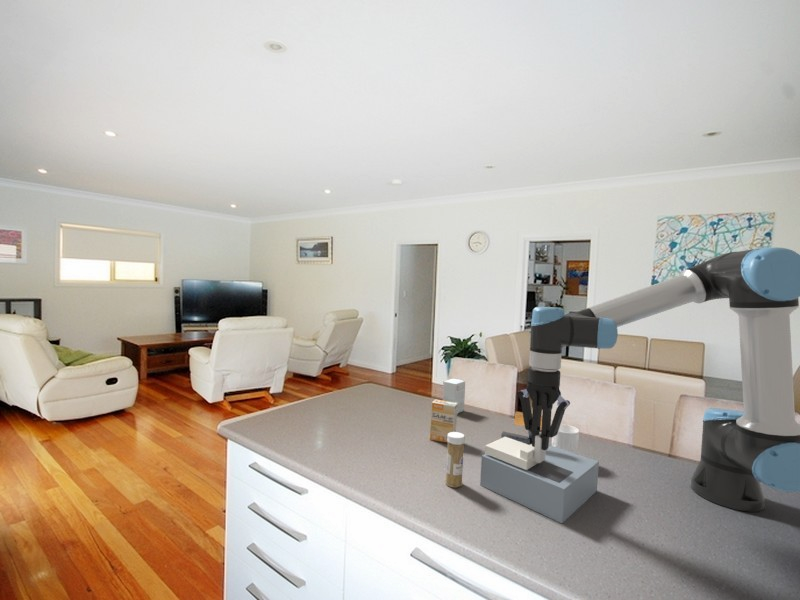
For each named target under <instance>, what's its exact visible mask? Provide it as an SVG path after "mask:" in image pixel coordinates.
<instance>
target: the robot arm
mask: <svg viewBox="0 0 800 600" xmlns="http://www.w3.org/2000/svg"><path fill="white" fill-rule="evenodd" d="M799 298H800V254H799V253H798V252H797V251H794V250H793V249H790V248H786V247H765V246H764V247H760V248H755V249H747V250H746V249H745V250H739V251H731V252H727V253H726V252H725V253H723V254H721V255H717V256H715V257H713V258H711V259H708V260H706V261H703V262H701V263H698V264H696V265H693V266H691V267H688V268H686V269H685V268H684V269H683V270H681V271H680V273H679V275H677V276H675V277H672V278H669V279H666V280H663V281H660V282H658V283H655V284H651V285H650V286H646V287H643V288H641V289H638V290H634V291H632V292H630V293H626V294H624V295H621V296H618V297H615V298H613V299H609V300H606V301H604V302H602V303H598V304H595V305H593V306H590V307H587V308H584V309H581V310H578V311H576V312H567V313H565V310H564V308H562V307H556V306H555V307H551V306H536V307H534V308H533V309H532V315H531V323H530V340H529V343H530V345H529V358H528V359H529V360H528V365H529V368H528V374H527V380H528V381H527V383H528V384H527V386H526V388H525V389H521V390H519V391H517V396H518V398H519V400H520V405H521V412H523V418H524V424H525V426H524V429H525V430H526V431H528V430H529V431H530V432H531V433H532V446H533V447H535V450H534V461H535V462H537V463H541V462H542V461H544V457H545V450H547V449H548V447H549V445H550V444H549V443H550V438H551V439H552V437H554V436H556V435H557V433H558V430H559V427H560V424H562V421H563V417H564V415H565V411H566V409H567V408H568V407H569V406H570V404H571V402H570V400H567V399H565V398H564V397H563V396H562V393H561V390H560V386H561V371H560V369H561V368H562V353H563V347H574V348H575V347H576V348H588V349H598V350H600V349H608V350H609V349H612V348H614V347H615V345H616V343H617V341H618V333H619V332H618V328H619V327H622V326H625V325H628V324H631V323H634V322H637V321H639V320H643V319H645V318H648V317H651V316H655V315H657V314H661V313H664V312H667V311H669V310H673V309H674V308H675V309H676V308H678V307H681V306H684V305H688V304H690V303H694V304H695V303H696V304H702V303H705V302H708V301H713V300H721V299H722V300H723V299H729V309H730V310H731V311H733V312H734V313H735V314H737V316H738V325H739V328H738V329H739V344H740V345H739V346H740V364H741V365H740V366H741V382H742V384H741V385H742V400H743V401H742V402H743V411H742V410H738V409H737V410H736V409H728V408H718V407H717V408H716V407H714V408H712V407H711V408H708V409H706V410H705V411H704V414H703V418H702V434H701V435H702V436H701V448H700V460H699V463H698V465H697V466H696V468H695V470H694V471H693V474H692V476H691V478H690V488H691V489H692V491H693V492H694V493H696V494H697V495H698V496H700V497H701V498H703V499H705V500H707V501H710V502H712V503H714V504H716V505H719V506H722V507H726V508H729V509H733V510H737V511H744V512H751V513H753V512H760V511H763V510H764V509H765V502H766V499H765V495H764V491H763V488H762V486H761V484H762V485H765V486H768V487H770V488H771V489H774V490H776V491H780V492H783V493H798V492H800V423H798V422H797V421H796V413H795V412H796V411H795V393H794V376H793V375H794V374H793V355H792V339H791V338H792V336H791V318H790V317H791V314H792V313H794V312H795V310H797V309H798V308H800V307H799V305H800V302H799ZM531 402H532V403H531ZM556 402H557V403H556ZM555 403H556V406H557V407H556V409H555V412H554V416H553V419H552V411H553V408H554V407H553V406H554V404H555ZM531 404H532V405H531ZM541 416H542V429H540V428H541Z"/></svg>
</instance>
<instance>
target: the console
mask: <svg viewBox="0 0 800 600" xmlns="http://www.w3.org/2000/svg"><path fill="white" fill-rule="evenodd" d="M519 442H520V441H519ZM522 443H525V442H522ZM525 444H528V445H531V444H529V443H525ZM545 451H546V452H545V459H544V461H542V462H541V463H538V464H536V465H534V466H533V467H531V468H529V469H528V470H525V469H522V468H520V467H517V466H515V465H512V464H510V463H507V462H505V461H502V460H500V459H497V458H495V457H492V456H490V455H487V454H485V453H484V454H483V455H481V462H480V480H479V482H480V484H479V485H480V486H481V487H483V488H486V489H487V490H489V491H491V492H494V493H496V494H498V495H500V496H502V497H504V498H506V499H509V500H511V501H513V502H515V503H517V504H520V505H521V506H524V507H525V508H529V509H530V510H532V511H534V512H536V513H539V514H541V515H543V516H545V517H547V518H549V519H551V520H554V522H555V521H556V522H557V523H559V524H564V523H565V522H566V520H568V518H570V517H571V516H572V515H573V514H574V513H575V512H576V511H577V510H578V509H579V508H580V507H581V506H583V505H584V504H585V503H586V502H587V501H588V500H589V499H590V498H591V497H592V496H593V495H595V493H596V492H598V480H599V464H600V461H599V460H597V459H592V458H590V457H587V456H583V455H581V454H578V453H577V454H575V453H572V452H569V451H566V450H563V449H560V448H557V447H554V446H552V444H551V445H550V444H549V447H548V449H547V450H545Z"/></svg>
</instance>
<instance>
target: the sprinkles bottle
mask: <svg viewBox="0 0 800 600" xmlns="http://www.w3.org/2000/svg"><path fill="white" fill-rule="evenodd" d="M465 437H466V436H465V434H464V433H462V432H458V431H456V432H450V433H448V436H447V441H448V443H447V448H446V449H447V451H446V465H445V467H446V469H445V470H446V471H445V474H446V475H445V484H446V485H447V487H450V488H460V487H462V486H463V473H464V471H463V469H464V448H465V447H464V446H465V445H464V444H465Z"/></svg>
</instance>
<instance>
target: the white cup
mask: <svg viewBox="0 0 800 600" xmlns="http://www.w3.org/2000/svg"><path fill="white" fill-rule="evenodd" d="M579 436H580V429H578V428H577V427H575V426H573V425H569V424H564V423H561V424H560V427H559V430H558V433H557V435H556V436H554V437H552V438H551V446H554V447H557V448H560V449H563V450H566V451H569V452H572V453H575V454H578V445H579V439H580V438H579Z"/></svg>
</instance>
